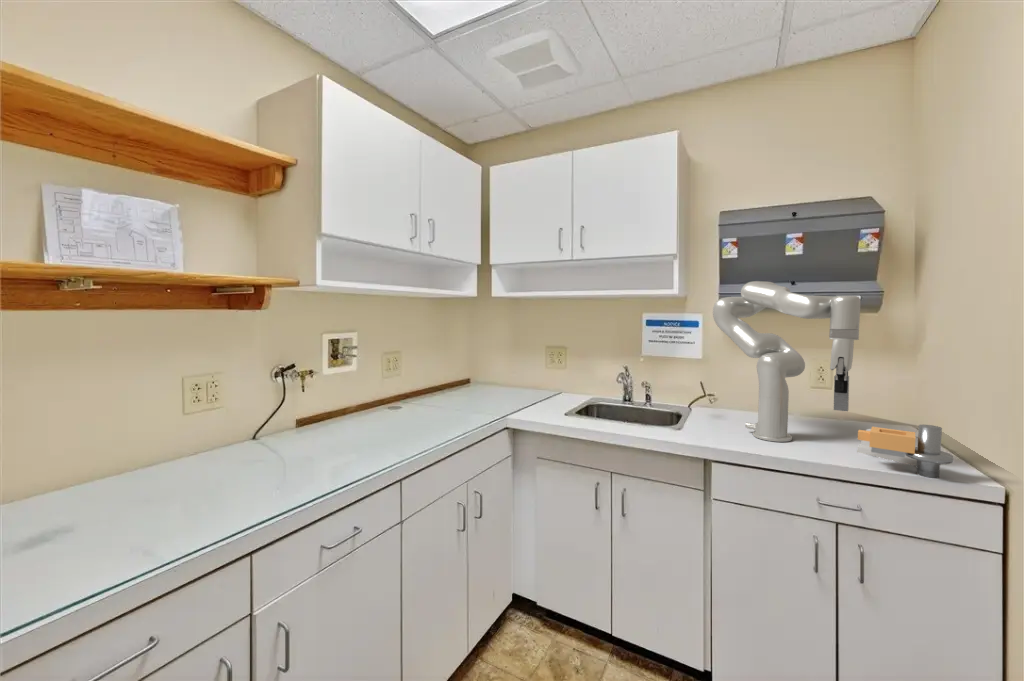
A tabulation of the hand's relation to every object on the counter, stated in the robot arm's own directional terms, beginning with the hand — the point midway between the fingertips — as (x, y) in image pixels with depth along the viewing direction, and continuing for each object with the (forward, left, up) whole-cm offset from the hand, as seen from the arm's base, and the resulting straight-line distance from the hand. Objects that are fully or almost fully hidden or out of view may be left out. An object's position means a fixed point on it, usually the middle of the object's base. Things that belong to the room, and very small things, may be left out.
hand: (841, 391), depth 143 cm
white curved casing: (+13, +10, -21) cm, 27 cm away
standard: (+17, -4, -21) cm, 27 cm away
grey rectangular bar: (0, 0, -6) cm, 6 cm away
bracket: (+12, -4, -15) cm, 19 cm away
